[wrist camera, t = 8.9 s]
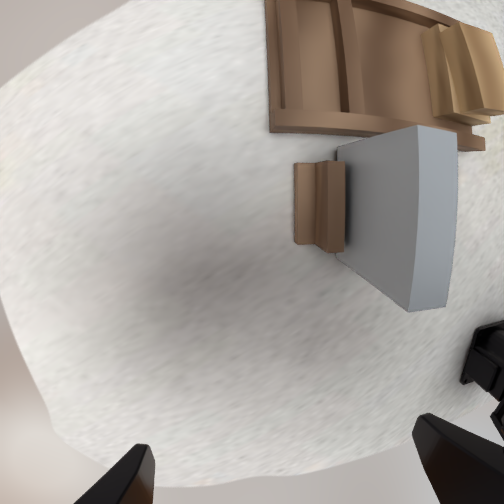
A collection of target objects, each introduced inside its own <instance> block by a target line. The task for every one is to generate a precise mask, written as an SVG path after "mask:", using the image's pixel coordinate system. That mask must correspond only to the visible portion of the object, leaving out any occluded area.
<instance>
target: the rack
mask: <svg viewBox="0 0 504 504" xmlns="http://www.w3.org/2000/svg"><path fill="white" fill-rule="evenodd" d="M265 18H266V39H267V63H268V91H269V123H270V133H308V134H328V135H344V136H356V137H368V138H370V137H373V136H377V135H381V134H384V133H388V132H392V131H395V130H399V129H403V128H407V127H411V126H415V125H421V126H426V127H431V128H436V129H441V130H445V131H450V132H454V133H457V150H459V151H464V152H469V151H485V138H484V137H480V136H477V135H473V134H472V126H467V125H463V124H460V123H456V122H451V121H447V120H443V119H439V118H434V117H433V112H432V102H431V93H430V85H429V78H428V71H427V65H426V59H425V53H424V48H423V43H422V38H421V34H422V33H424V32H425V31H427V30H428V29H430V28H431V27H433V26H435V25H436V24H441V25H444V26H446V27H450V26H452V25H454V24H456V23H457V22H460V21H458V20H455V19H453V18H451V17H448V16H446V15H444V14H441V13H439V12H436V11H434V10H431V9H428V8H426V7H423V6H420V5H417V4H414V3H411V2H408V1H405V0H265ZM461 23H462V22H461Z"/></svg>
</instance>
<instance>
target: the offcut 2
mask: <svg viewBox="0 0 504 504" xmlns="http://www.w3.org/2000/svg"><path fill="white" fill-rule="evenodd" d="M439 36H440V39H441V42H442V45H443V48H444V51H445V55H446V58H447V61H448V65H449V68H450V72H451V76H452V79H453V83H454V87H455V92H456V96H457V100H458V105H459V110H460V113H467V114H477V115H486V116H496V115H503V114H504V68H503V64H502V61H501V58H500V55H499V52H498V49H497V46H496V43H495V40H494V37H493V34H492V33H490V32H488V31H485V30H482V29H479V28H476V27H474V26H471V25H468V24H464V23H461V22H457V23H456V24H454V25H452V26H450V27H449V28H447V29H445V30H444V31H442V32H440V33H439Z"/></svg>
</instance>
